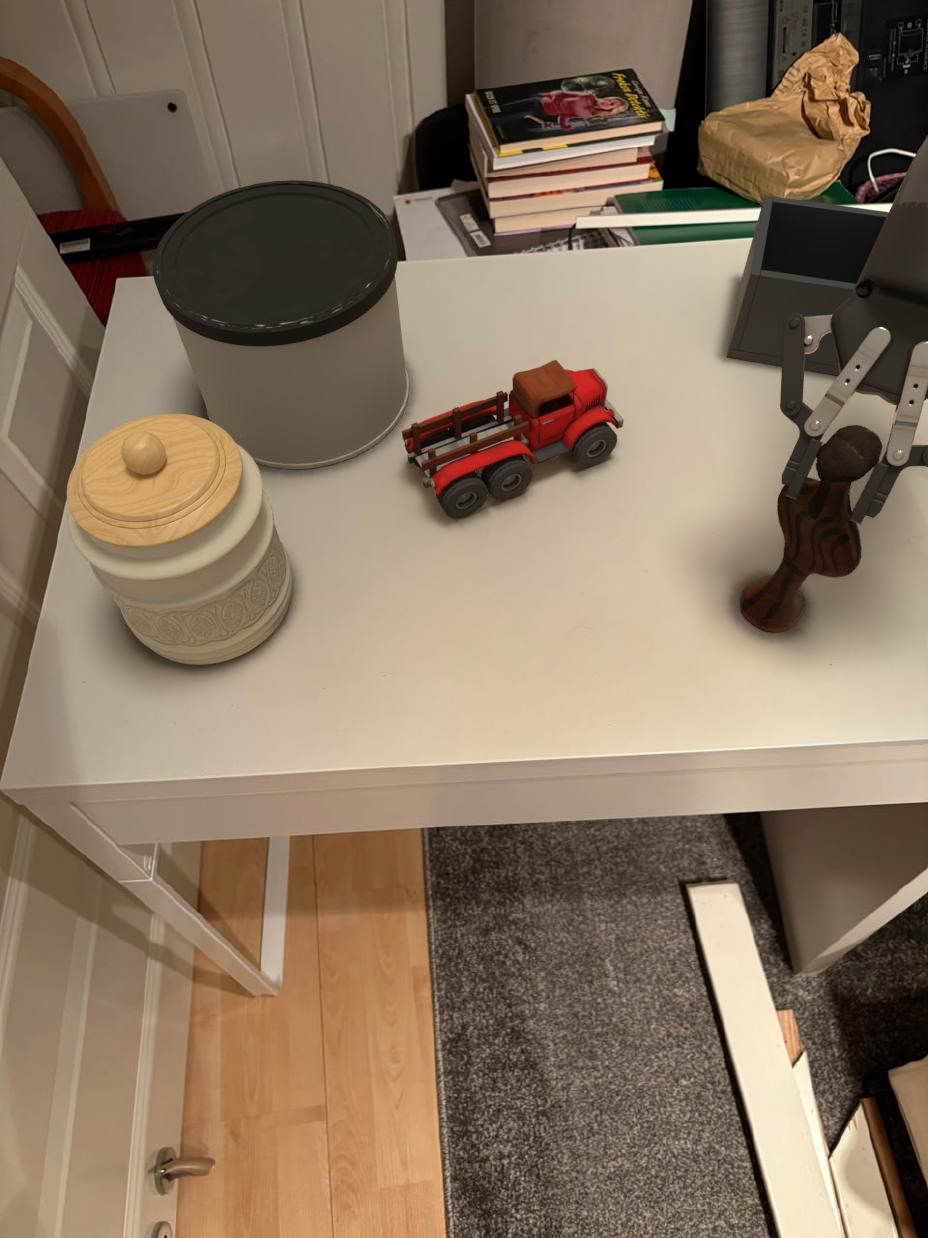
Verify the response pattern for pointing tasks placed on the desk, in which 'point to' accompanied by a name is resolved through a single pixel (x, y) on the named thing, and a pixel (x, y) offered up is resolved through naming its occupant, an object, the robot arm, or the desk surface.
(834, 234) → the bin
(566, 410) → the toy truck
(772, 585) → the figurine
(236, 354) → the container
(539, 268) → the desk surface
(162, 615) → the jar
